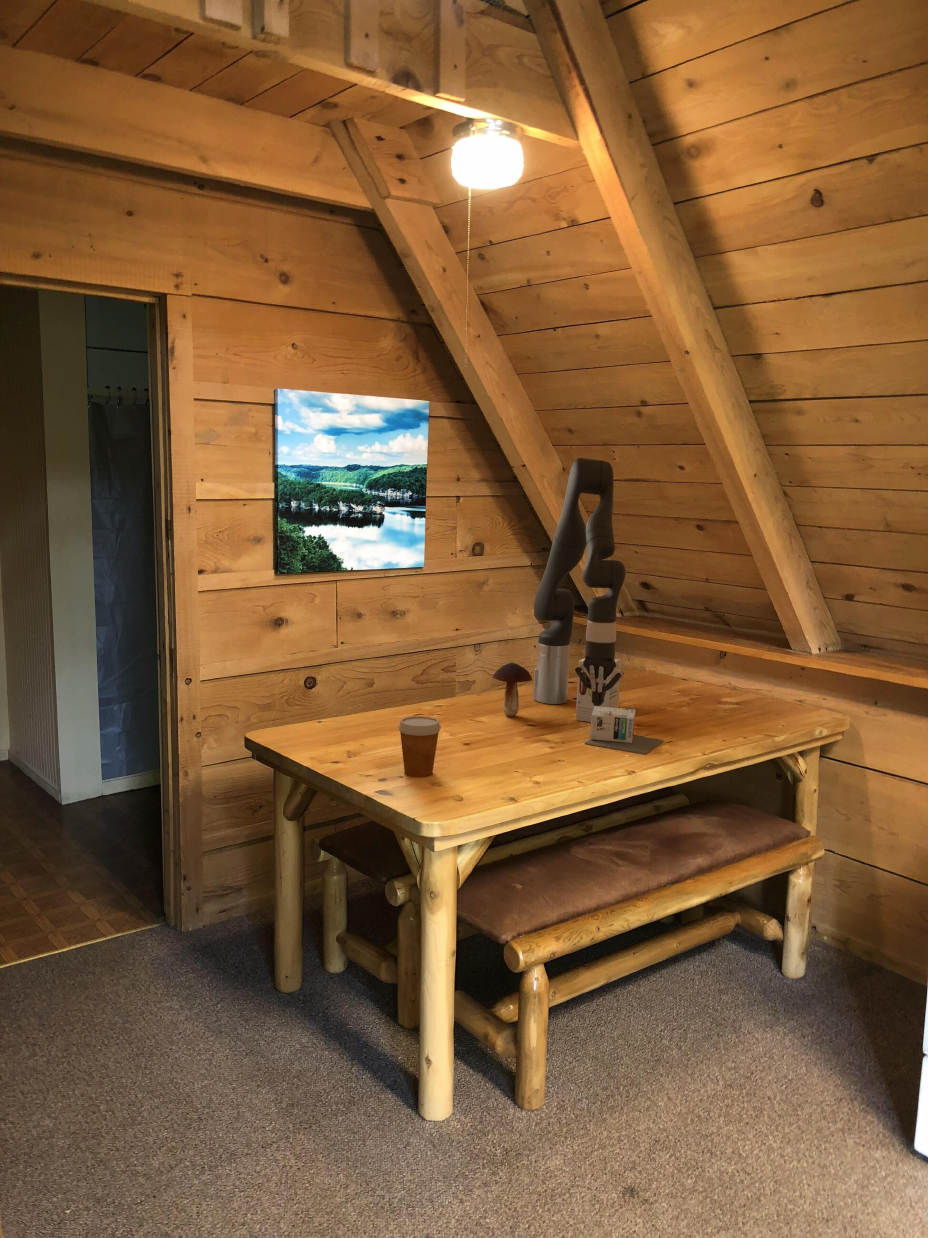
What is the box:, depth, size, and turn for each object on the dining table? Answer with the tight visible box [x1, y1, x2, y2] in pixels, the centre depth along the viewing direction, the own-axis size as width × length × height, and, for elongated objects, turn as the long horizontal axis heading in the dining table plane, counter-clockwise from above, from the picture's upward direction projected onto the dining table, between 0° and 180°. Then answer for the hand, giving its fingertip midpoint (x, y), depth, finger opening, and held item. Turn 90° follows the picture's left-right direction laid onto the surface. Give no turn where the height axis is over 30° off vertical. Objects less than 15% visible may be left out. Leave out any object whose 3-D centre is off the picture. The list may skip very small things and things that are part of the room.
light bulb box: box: [589, 706, 636, 743], centre depth 255 cm, size 11×7×11 cm
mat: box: [584, 734, 665, 755], centre depth 252 cm, size 16×14×1 cm
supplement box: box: [575, 657, 622, 723], centre depth 273 cm, size 10×9×17 cm
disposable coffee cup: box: [397, 715, 442, 778], centre depth 222 cm, size 10×10×12 cm
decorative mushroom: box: [491, 662, 533, 717], centre depth 273 cm, size 11×11×15 cm
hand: (597, 705), depth 254 cm, fingers closed
